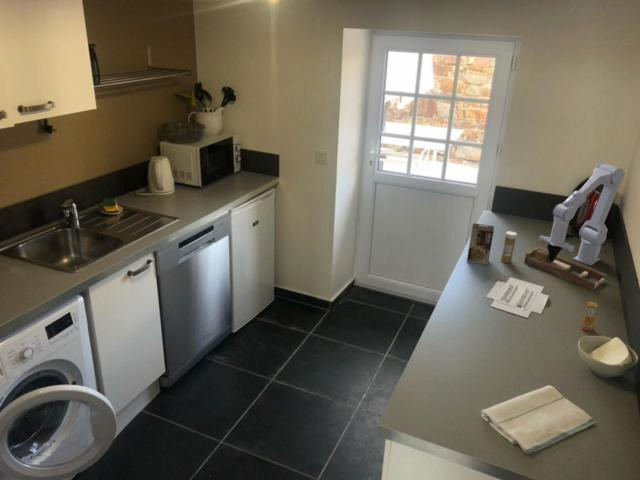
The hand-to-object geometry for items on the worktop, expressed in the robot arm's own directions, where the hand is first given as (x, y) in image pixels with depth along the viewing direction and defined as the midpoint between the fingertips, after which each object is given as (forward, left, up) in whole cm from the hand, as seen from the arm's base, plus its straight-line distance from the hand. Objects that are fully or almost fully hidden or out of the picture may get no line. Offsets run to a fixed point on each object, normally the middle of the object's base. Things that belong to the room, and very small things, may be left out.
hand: (551, 260), depth 230 cm
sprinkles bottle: (+10, -15, -3) cm, 19 cm away
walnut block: (0, -4, -1) cm, 4 cm away
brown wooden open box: (0, +6, -3) cm, 6 cm away
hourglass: (+35, +31, -3) cm, 47 cm away
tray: (+35, +4, -4) cm, 35 cm away
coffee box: (+20, -23, -3) cm, 31 cm away
